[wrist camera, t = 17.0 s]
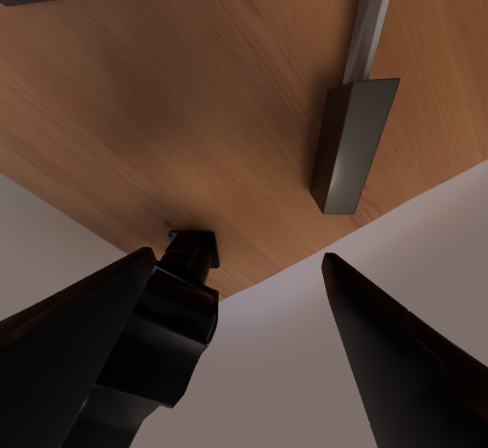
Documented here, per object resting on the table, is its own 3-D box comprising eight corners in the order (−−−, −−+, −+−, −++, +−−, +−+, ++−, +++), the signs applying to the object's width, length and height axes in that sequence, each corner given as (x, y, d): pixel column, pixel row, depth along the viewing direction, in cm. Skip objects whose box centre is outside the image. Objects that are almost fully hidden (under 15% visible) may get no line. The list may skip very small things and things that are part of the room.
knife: (334, 192, 19) (354, 214, 15) (309, 192, 19) (322, 214, 15) (433, -203, 8) (610, -530, 4) (375, -191, 9) (485, -487, 4)
